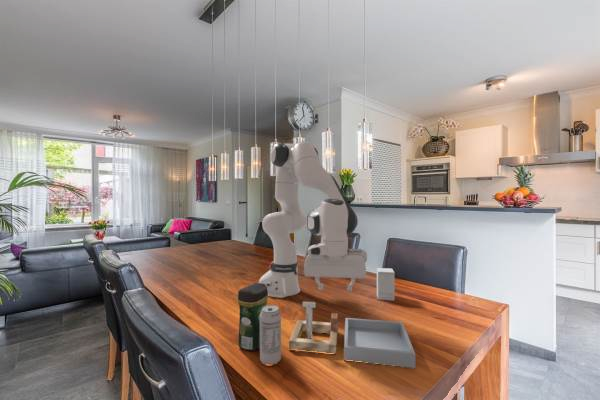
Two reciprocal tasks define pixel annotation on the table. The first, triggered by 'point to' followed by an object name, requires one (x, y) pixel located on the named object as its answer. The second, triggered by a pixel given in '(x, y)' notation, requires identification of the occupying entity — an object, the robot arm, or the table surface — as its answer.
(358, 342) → the tray
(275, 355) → the energy drink can
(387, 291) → the supplement box
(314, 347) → the ring
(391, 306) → the table surface
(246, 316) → the coffee jar
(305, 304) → the rod
